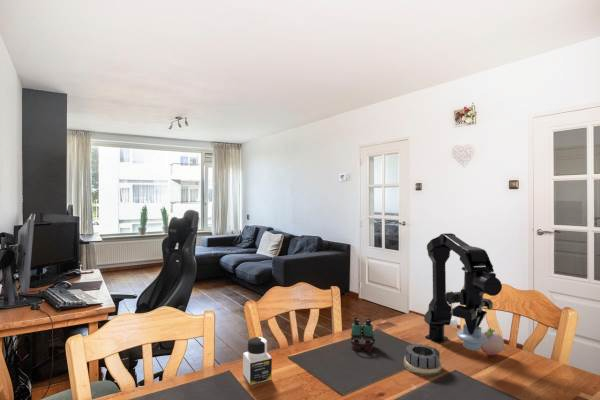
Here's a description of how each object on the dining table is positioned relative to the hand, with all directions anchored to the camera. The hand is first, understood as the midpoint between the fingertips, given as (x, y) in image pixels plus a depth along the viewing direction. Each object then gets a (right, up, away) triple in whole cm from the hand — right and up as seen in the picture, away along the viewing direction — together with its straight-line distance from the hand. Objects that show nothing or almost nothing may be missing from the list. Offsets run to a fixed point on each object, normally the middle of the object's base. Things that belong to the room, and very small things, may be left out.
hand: (472, 333), depth 117 cm
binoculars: (-34, -12, +16) cm, 39 cm away
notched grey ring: (-16, -12, +2) cm, 20 cm away
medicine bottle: (-71, -12, -6) cm, 72 cm away
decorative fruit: (+12, -13, +11) cm, 21 cm away
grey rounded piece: (0, -5, 0) cm, 5 cm away
